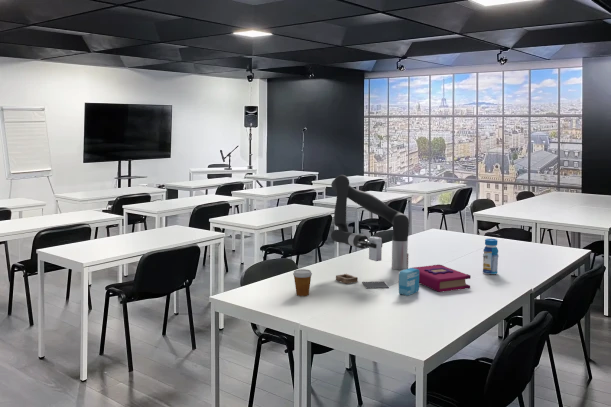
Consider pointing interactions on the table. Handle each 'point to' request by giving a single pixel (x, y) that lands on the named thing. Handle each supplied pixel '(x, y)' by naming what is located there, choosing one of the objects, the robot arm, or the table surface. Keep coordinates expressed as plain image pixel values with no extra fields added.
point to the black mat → (375, 284)
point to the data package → (408, 281)
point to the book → (442, 278)
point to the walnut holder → (346, 278)
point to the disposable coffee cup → (302, 281)
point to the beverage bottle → (490, 257)
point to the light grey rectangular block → (375, 249)
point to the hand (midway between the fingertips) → (378, 245)
